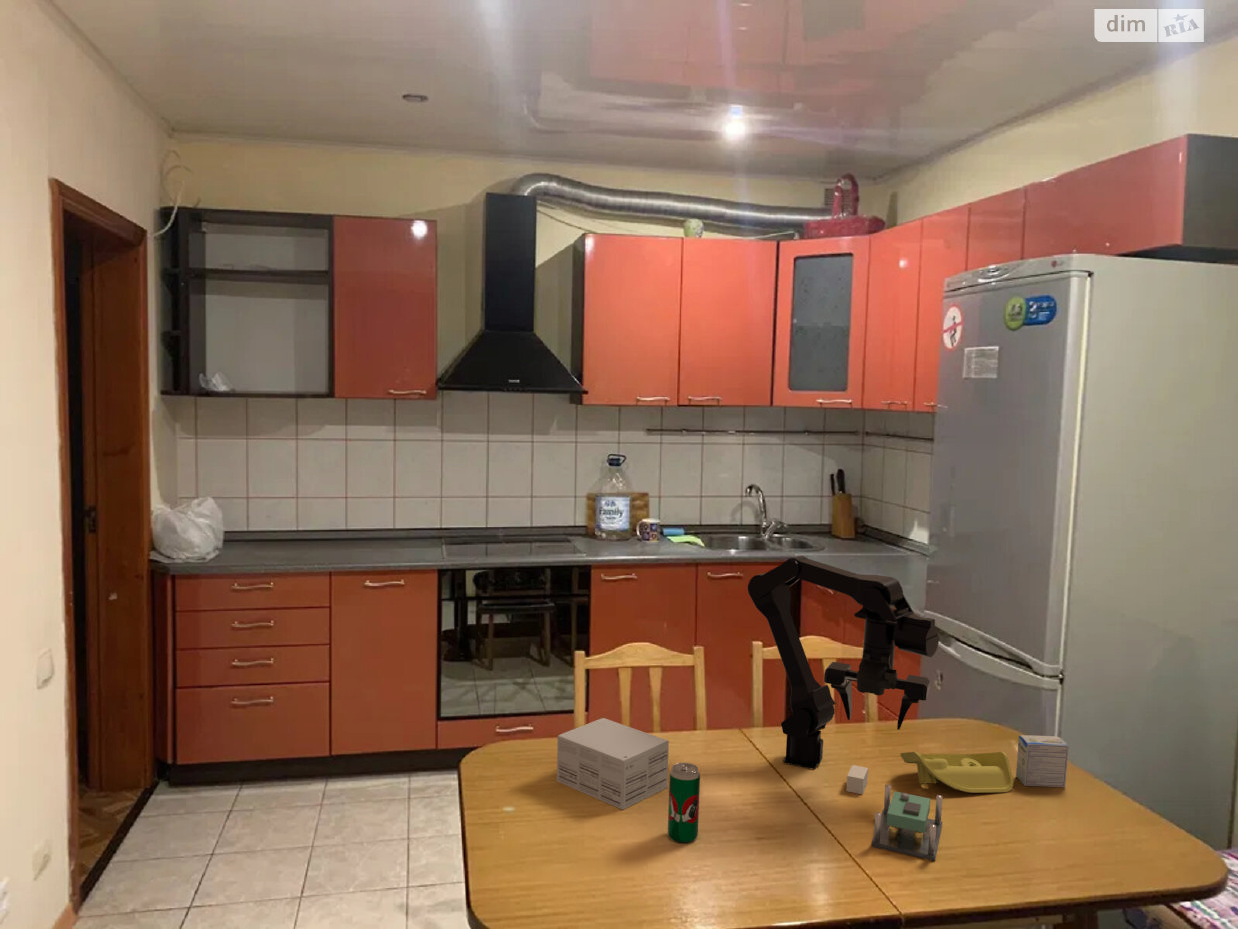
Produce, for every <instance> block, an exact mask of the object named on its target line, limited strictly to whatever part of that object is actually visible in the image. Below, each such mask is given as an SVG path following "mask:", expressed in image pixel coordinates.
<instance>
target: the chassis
mask: <svg viewBox="0 0 1238 929" xmlns="http://www.w3.org/2000/svg"><path fill="white" fill-rule="evenodd" d="M884 786H885V787H884V799H883V800H884V801H883V802H884V803H883V809H882V812H879V811H876V812H874V826H873V827H874V829H873V837H872V839H871V847H872V848H876V849H881V850H886V851H889V852H894V853H899V854H903V855H907V856H912V857H915V858H921V859H924V860H927V861H928V860H929V861H932V862H933V861H934V862H936V859H937V854H938V847H939V844H940V839H941V834H942V828H943V821H942V810H943V795H940V794H937V795H936V798H935V812H934V813H935V814H934V819H932V818H929V817H928V820H927V824H926V829H925V833H922V832H918V831H913V830H909V829H904V828H899V827H895V826H890V825H887V813H888V810H889V807H890V803H891V798H892V797H891V794H892V785H890V784H885V785H884Z"/></svg>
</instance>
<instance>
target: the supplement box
mask: <svg viewBox="0 0 1238 929" xmlns="http://www.w3.org/2000/svg"><path fill="white" fill-rule="evenodd" d="M669 744H670V741H669V740H668V739H665V738H662V737H659V736H656V735H653V734H650V733H648V732H645V731H643V730H642V731H641V730H639V729H636V728H633V727H630V726H628V725H624V724H622V723H618V722H617V721H613V720H611V719H608V718H605V717H602V718H599V719H597V720H593V721H591V722H589V723H587V724H584V725H582V726H579V727H576V728H572V729H571V730H568V731H565V732H563V733H561V734H559V735H557V747H556V748H557V753H556V754H557V755H556V756H557V757H556V758H557V759H556V763H557V764H556V765H557V766H556V782H558V783H560V784H562V785H565V786H567V787H569V788H571V789H574V790H575V791H579V793H583V794H585V795H587V796H590V797H592V798H595V799H597V800H598V801H601V802H604V803H606V804H609V805H610V806H612V807H615V808H618V809H620V810H625V809H628V808H630V807H632V806H633V805H636V804H637V803H640V802H642V801H643V800H646V799H648V798H649V797H651V796H654V795H655V794H656V795H657V793H660V792H661V791H663V790H666V789H668V787H669V784H668V781H669V747H670V746H669Z"/></svg>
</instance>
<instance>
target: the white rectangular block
mask: <svg viewBox="0 0 1238 929" xmlns="http://www.w3.org/2000/svg"><path fill="white" fill-rule="evenodd" d="M868 776H869V767H864V766H860V765H854V764H852V765H851V766H850V769H849V771H848V773H847V776H846V790H845V791H846V792H848V793H849V792H850V793H853V794H859V795H864V792H865V790H866V788H867V785H868V778H869V777H868Z"/></svg>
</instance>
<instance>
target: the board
mask: <svg viewBox="0 0 1238 929" xmlns="http://www.w3.org/2000/svg"><path fill="white" fill-rule="evenodd" d="M930 810H931V798H929V797H924V796H919V795H915V794H910V793H906V792H899V791H893V795H892V797H891V799H890V807H889V810H888V813H887V825H890V826H895V827H899V828H904V829H909V830H913V831H918V832H922V833H925V829H926V824H927V820H928V818H929V815H930Z"/></svg>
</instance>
